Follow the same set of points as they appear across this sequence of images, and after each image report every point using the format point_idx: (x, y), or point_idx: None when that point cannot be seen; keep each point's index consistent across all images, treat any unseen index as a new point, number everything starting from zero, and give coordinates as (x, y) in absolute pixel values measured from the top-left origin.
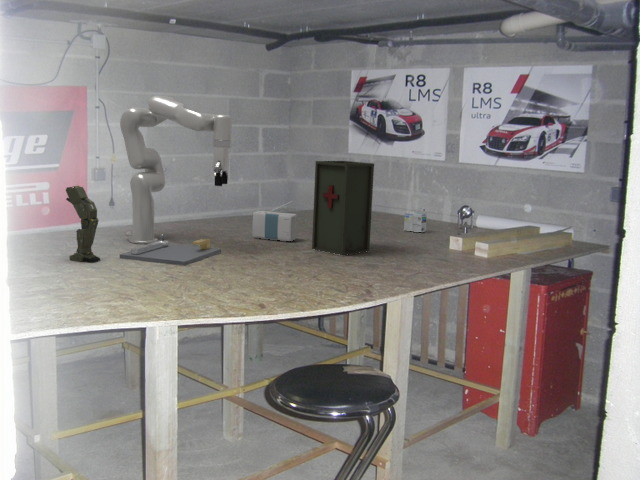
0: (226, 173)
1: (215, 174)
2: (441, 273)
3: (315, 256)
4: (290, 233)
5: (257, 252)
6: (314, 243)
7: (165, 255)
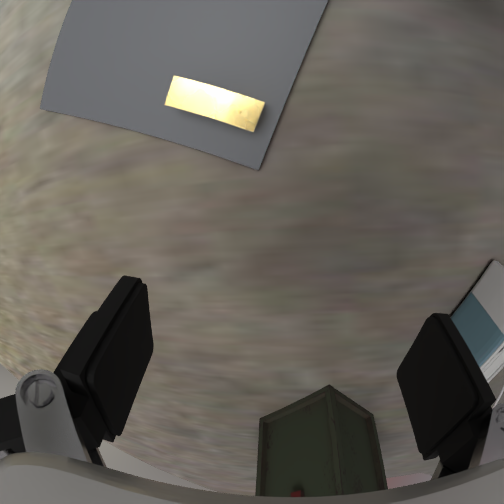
0: (438, 470)
1: (21, 396)
2: (168, 462)
3: (246, 387)
4: None
5: (277, 278)
6: (327, 399)
7: (103, 25)
